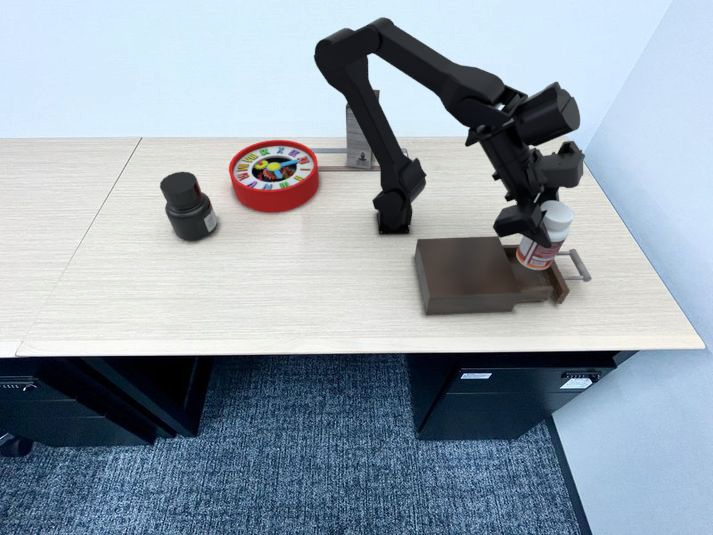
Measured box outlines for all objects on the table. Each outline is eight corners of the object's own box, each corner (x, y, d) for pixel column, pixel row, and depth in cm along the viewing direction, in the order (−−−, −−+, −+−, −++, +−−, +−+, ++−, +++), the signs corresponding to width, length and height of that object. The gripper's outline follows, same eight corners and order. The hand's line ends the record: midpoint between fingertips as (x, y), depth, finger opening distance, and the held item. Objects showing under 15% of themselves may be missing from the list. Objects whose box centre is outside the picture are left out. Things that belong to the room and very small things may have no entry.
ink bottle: (224, 234, 84) (208, 188, 75) (182, 249, 81) (160, 204, 72) (210, 207, 89) (193, 162, 80) (170, 221, 86) (148, 176, 77)
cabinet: (490, 255, 80) (498, 236, 76) (511, 311, 71) (521, 292, 67) (414, 258, 80) (417, 238, 75) (425, 315, 71) (429, 296, 66)
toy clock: (219, 152, 93) (299, 132, 99) (225, 173, 98) (301, 152, 104) (242, 202, 82) (331, 176, 88) (248, 223, 86) (332, 197, 92)
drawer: (562, 252, 80) (571, 238, 77) (589, 302, 72) (600, 289, 68) (465, 255, 79) (470, 241, 76) (481, 307, 71) (487, 293, 68)
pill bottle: (557, 260, 71) (586, 213, 62) (536, 277, 68) (563, 230, 60) (528, 241, 74) (552, 193, 65) (507, 256, 71) (529, 208, 63)
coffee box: (353, 146, 105) (353, 86, 93) (377, 149, 105) (380, 89, 92) (346, 166, 100) (345, 105, 87) (371, 170, 99) (373, 108, 87)
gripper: (543, 168, 50) (594, 263, 54) (579, 106, 60) (619, 190, 64) (470, 194, 58) (519, 274, 63) (512, 136, 68) (551, 209, 73)
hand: (554, 235), depth 66 cm, fingers closed on pill bottle, 6 cm apart
